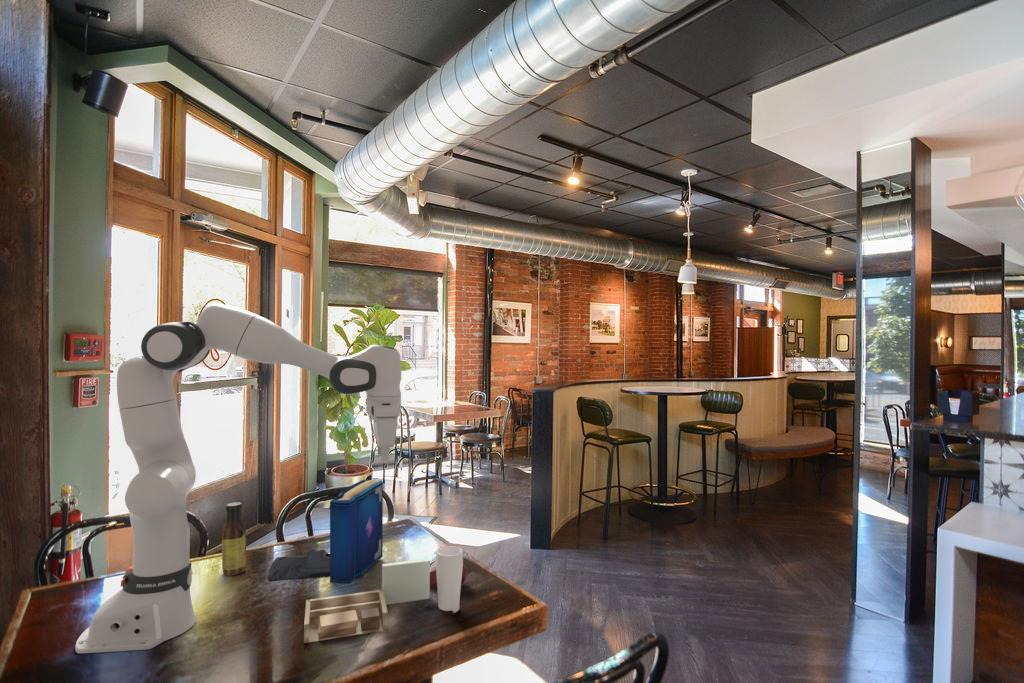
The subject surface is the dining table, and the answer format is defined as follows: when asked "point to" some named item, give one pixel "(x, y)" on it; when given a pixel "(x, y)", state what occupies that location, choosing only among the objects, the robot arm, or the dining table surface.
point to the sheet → (406, 581)
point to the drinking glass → (449, 577)
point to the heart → (434, 577)
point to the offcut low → (336, 633)
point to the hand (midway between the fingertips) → (382, 459)
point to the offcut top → (338, 621)
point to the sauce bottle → (233, 541)
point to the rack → (343, 604)
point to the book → (356, 530)
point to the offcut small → (370, 619)
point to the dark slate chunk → (301, 566)
